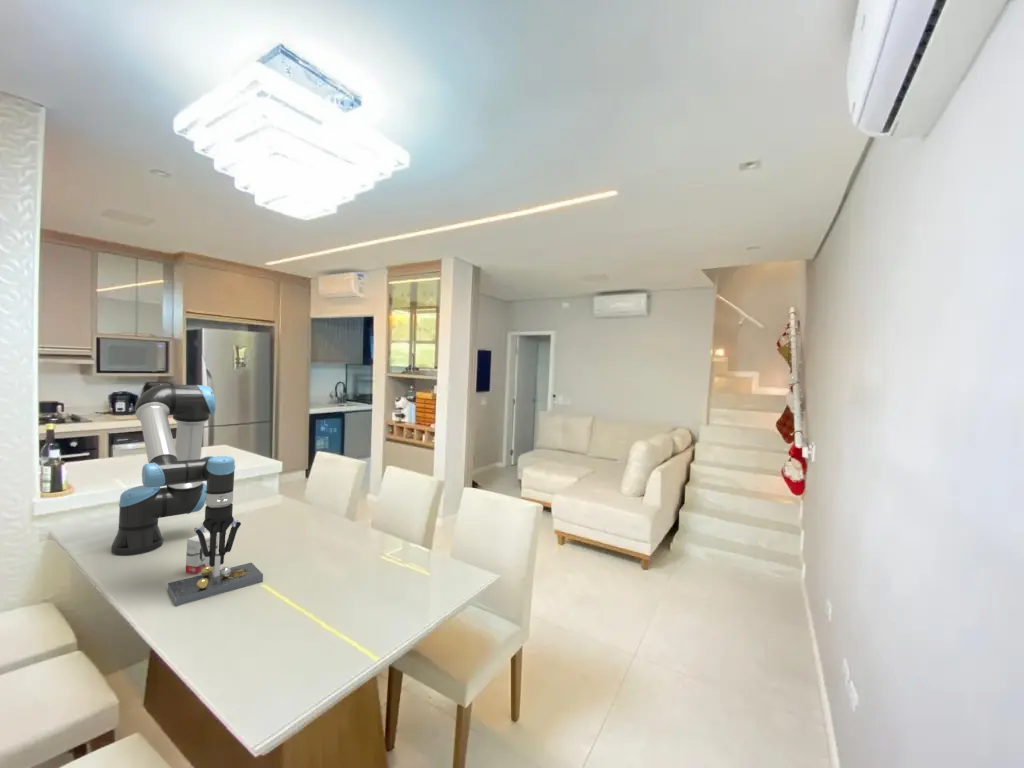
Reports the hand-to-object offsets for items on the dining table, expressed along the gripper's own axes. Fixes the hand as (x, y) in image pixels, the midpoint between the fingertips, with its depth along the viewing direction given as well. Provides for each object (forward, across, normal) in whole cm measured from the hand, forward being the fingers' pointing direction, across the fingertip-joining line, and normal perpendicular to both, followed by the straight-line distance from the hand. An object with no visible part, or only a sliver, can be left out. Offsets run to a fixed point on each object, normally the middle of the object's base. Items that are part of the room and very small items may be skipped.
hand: (215, 574), depth 144 cm
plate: (+4, 0, 0) cm, 4 cm away
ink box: (+4, 0, +17) cm, 18 cm away
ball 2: (0, -4, -4) cm, 6 cm away
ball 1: (0, -2, +4) cm, 5 cm away
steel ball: (0, +3, 0) cm, 3 cm away
